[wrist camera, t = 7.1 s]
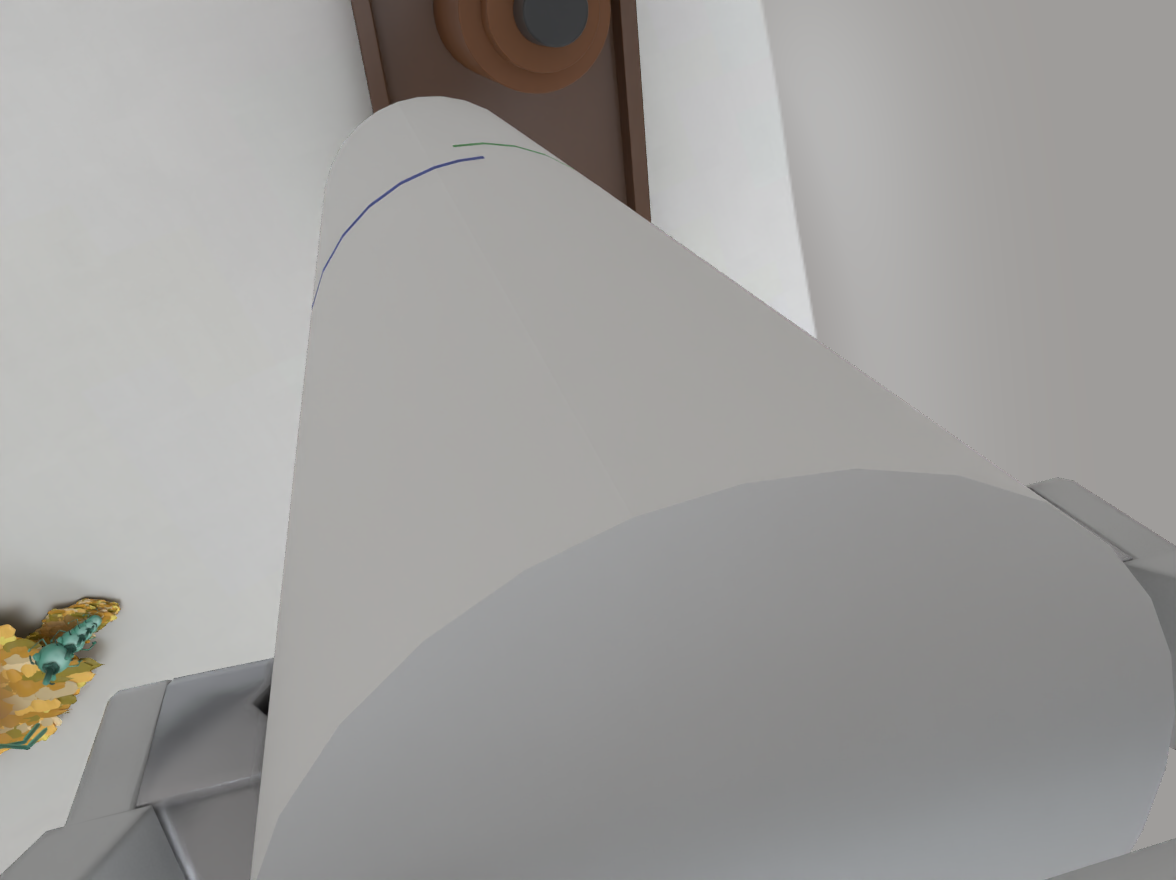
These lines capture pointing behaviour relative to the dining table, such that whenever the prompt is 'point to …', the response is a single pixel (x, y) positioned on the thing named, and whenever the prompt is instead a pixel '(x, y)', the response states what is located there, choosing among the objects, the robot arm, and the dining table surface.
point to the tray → (552, 120)
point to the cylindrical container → (658, 572)
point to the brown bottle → (524, 39)
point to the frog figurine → (46, 671)
